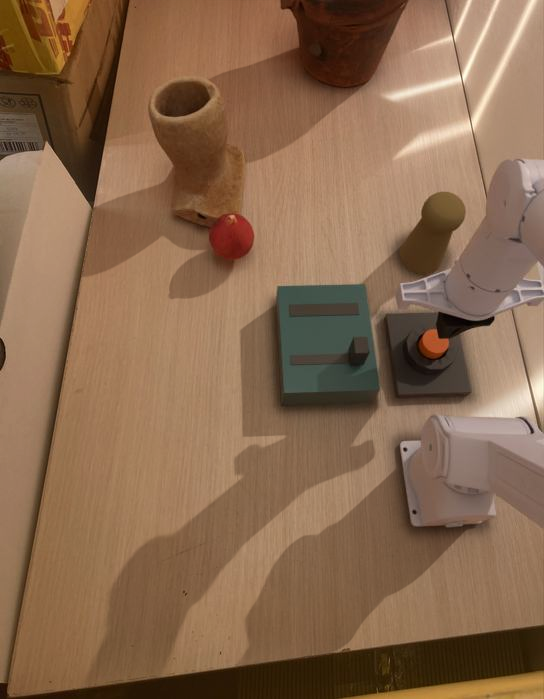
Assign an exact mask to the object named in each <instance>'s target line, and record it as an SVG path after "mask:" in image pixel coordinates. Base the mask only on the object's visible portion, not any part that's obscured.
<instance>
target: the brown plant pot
mask: <svg viewBox="0 0 544 699" xmlns="http://www.w3.org/2000/svg"><path fill="white" fill-rule="evenodd" d="M279 1H280V2H279V3H280V9H281V10H283V11H285V10H289V11H290V12H291V13H292V16H293V17H294V19H295V22H296V29H297V38H298V44H299V52H300V54H299V55H300V62H301V63H302V65H303V67H304V69H305V70H306V71H307V72H308V73H309V74H310V75H311V76H312V77H313V78H315V79H316V80H319V81H320V82H322V83H325V84H328V85H331V86H335V87H345V88H346V87H354V86H358V85H361V84H363V83H365V82H368V81H369V80H370V79H371V78H372V77H373V76H374V74H375V73H376V71H377V70H378V67H379V66H380V63H381V61H382V59H383V57H384V54H385V52H386V50H387V48H388V45H389V43H390V41H391V39H392V36H393V34H394V32H395V30H396V28H397V26H398V24H399V21H400V19H401V17H402V14H403V12H404V11H405V10H406V8H407V6H408V3H409V0H279Z"/></svg>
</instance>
